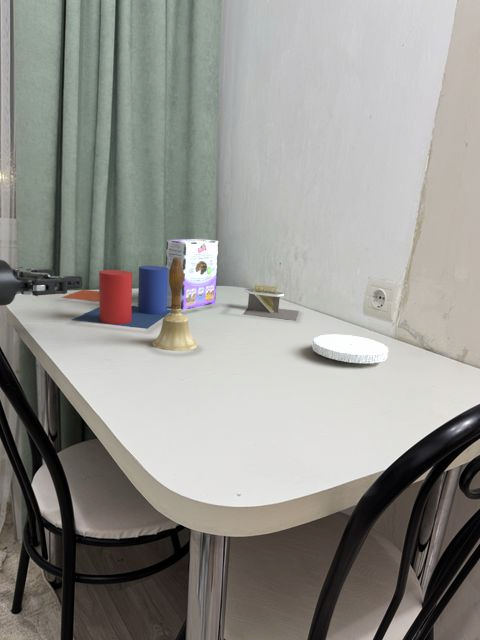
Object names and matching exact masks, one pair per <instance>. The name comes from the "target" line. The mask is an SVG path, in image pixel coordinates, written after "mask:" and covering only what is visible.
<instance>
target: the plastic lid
mask: <svg viewBox="0 0 480 640" xmlns="http://www.w3.org/2000/svg"><path fill="white" fill-rule="evenodd" d="M311 350H312V351H313V352H315V353H316V354H318V355H320V356H323V357H325V358H328V359H331V360H335V361H339V362H340V361H341V362H345V363H352V364H377V363H382V362H384V361H386V360H387V359H388V356H389V355H388V353H389V348H388V346H387V345H385V344H384V343H382V342H379V341H377V340H375V339H371V338H366V337H363V336H358V335H351V334H339V333H334V334H333V333H331V334H330V333H329V334H327V333H326V334H321V335H316V336H315V337H314V338H313V340H312V349H311Z"/></svg>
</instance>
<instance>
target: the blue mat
mask: <svg viewBox="0 0 480 640" xmlns="http://www.w3.org/2000/svg"><path fill="white" fill-rule="evenodd" d="M170 313H171V309H167V312H166V313H164V314H145V313H141V312H139V311H138V305H132V314H131V322H130V323H126V324H107V323H103V322H100V321H99V307H96V308H93V309H92V310H89V311H88V312H85V313H83V314H81V315H78V316H77V317H76V316H75V317H74V318H72V319H71V321H75V322H83V323H93V324H101V325H109V326H119V327H126V328H127V327H128V328H136V329H145V330H148V329H149V328H151V327H152V326H153V325H155V324H156V323H158V322H159V321H161V320H163V318H164V317H165V316H166V315H169V314H170Z"/></svg>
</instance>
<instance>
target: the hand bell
mask: <svg viewBox="0 0 480 640" xmlns="http://www.w3.org/2000/svg"><path fill="white" fill-rule="evenodd" d="M183 282H184V271H183V267H182V264H181V259H180V258H173V262H172V265H171V267H170V271H169V284H170V288H171V292H172V300H171V304H172V305H171V308H170V310H171V313H169V314H168V315H166V316H165V317H164V318H162V326H161V329H160V331H159V334H158V335H157V337H156V338H155V339H153V341H152V343H151V344H152V346H153V347H155V348H157V349H160V350H163V351H164V350H165V351H171V352H174V351H175V352H185V351H191V350H193V351H195V350H197V349H198V347H199V345H198V343H197V341H196V340H195V339H194V338H193V336H192V335H191V331H190V326H189V325H190V324H189V318H188V317H187V316H186V315H184V314H183V313H182V310H181V309H180V308H181V306H180V304H181V303H180V294H181V290H182V287H183Z"/></svg>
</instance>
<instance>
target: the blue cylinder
mask: <svg viewBox="0 0 480 640" xmlns="http://www.w3.org/2000/svg"><path fill="white" fill-rule="evenodd" d="M167 285H168V268H166V266H165V267H164V266H159V265H140V266H138V290H137V291H138V293H137V294H138V295H137V298H138V299H137V302H138V303H137V306H138V311H139V312H141V313H145V314H164V313H166V312H167V310H168V309H167V308H168V307H167Z"/></svg>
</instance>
